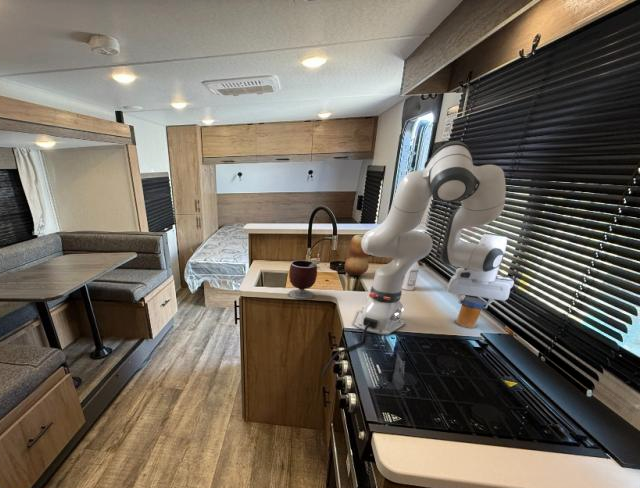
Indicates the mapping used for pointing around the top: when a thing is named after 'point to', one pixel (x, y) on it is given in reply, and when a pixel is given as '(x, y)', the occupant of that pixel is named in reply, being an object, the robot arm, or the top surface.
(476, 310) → the jam jar
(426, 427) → the top surface
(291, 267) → the mate gourd
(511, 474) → the top surface
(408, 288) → the bath foam
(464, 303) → the jam lid
